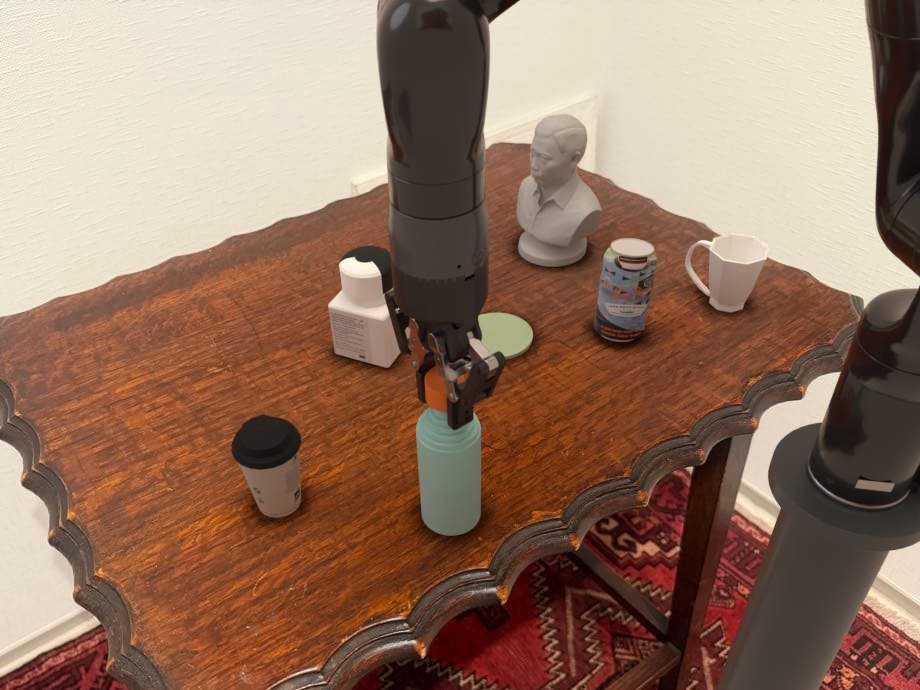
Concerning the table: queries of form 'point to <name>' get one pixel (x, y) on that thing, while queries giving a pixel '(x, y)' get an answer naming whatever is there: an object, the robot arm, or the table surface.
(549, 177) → the figurine
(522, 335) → the coaster
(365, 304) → the container
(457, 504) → the bottle
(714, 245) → the cup
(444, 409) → the cap
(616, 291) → the beverage can
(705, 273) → the table surface
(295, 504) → the coffee cup
